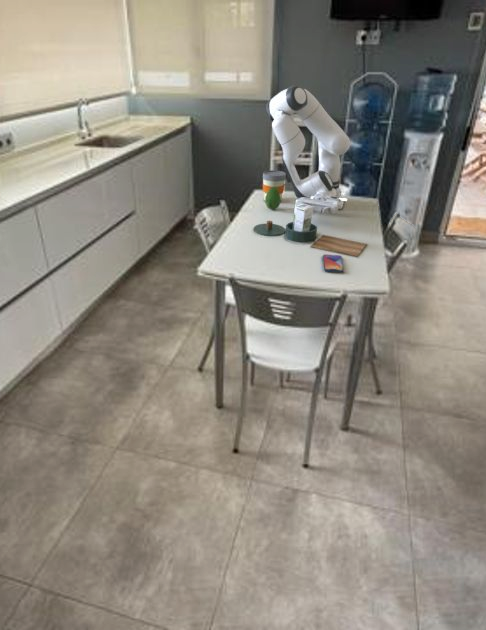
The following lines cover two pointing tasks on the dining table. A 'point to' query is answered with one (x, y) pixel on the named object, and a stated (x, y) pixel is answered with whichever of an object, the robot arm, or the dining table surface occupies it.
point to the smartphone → (333, 263)
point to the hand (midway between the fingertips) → (312, 209)
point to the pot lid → (269, 229)
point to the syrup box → (302, 218)
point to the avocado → (272, 198)
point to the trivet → (339, 245)
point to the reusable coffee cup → (273, 181)
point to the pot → (301, 234)
